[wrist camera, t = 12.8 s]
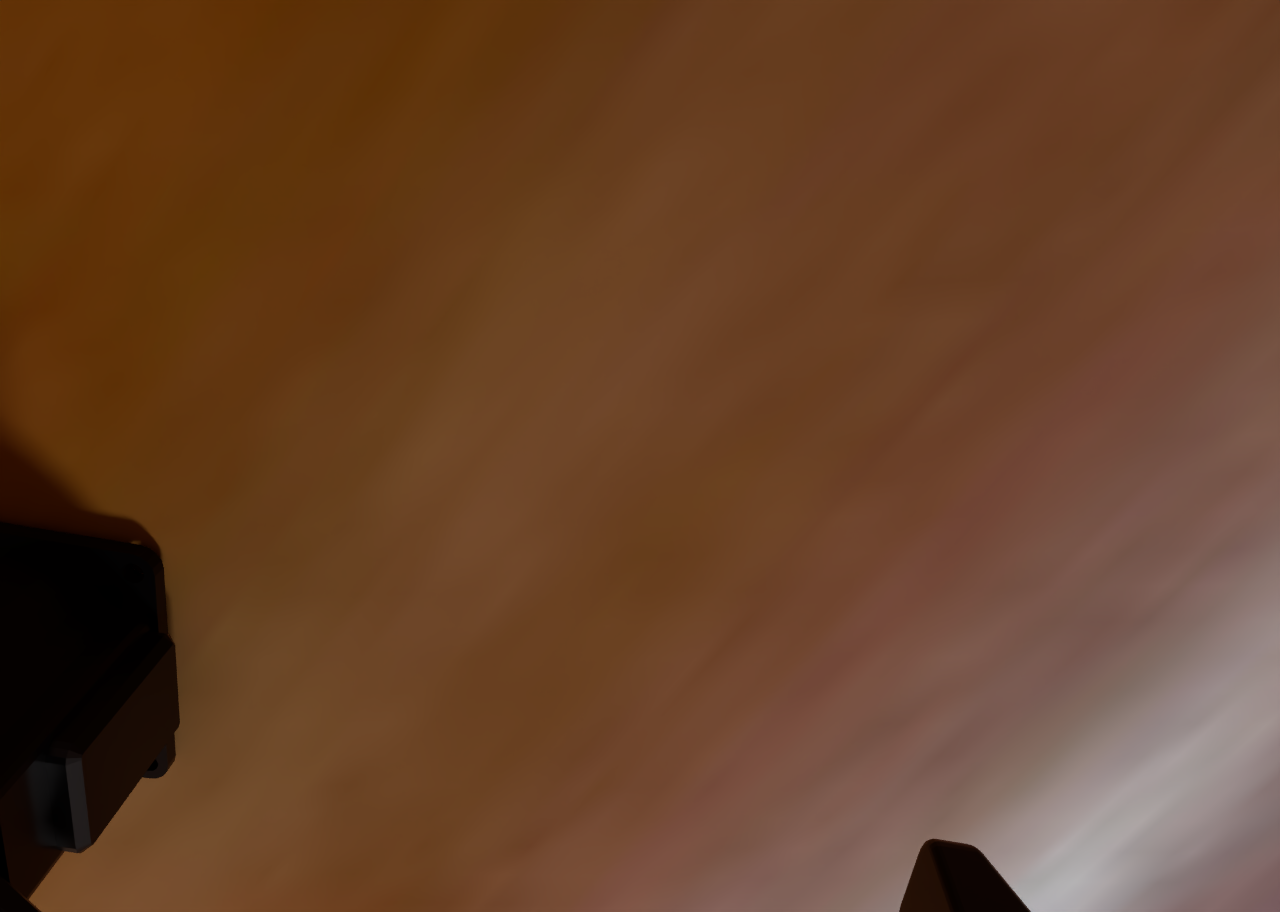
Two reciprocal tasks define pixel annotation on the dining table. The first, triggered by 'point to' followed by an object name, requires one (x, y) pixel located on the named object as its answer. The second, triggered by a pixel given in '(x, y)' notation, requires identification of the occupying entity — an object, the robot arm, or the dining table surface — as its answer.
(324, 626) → the dining table surface
